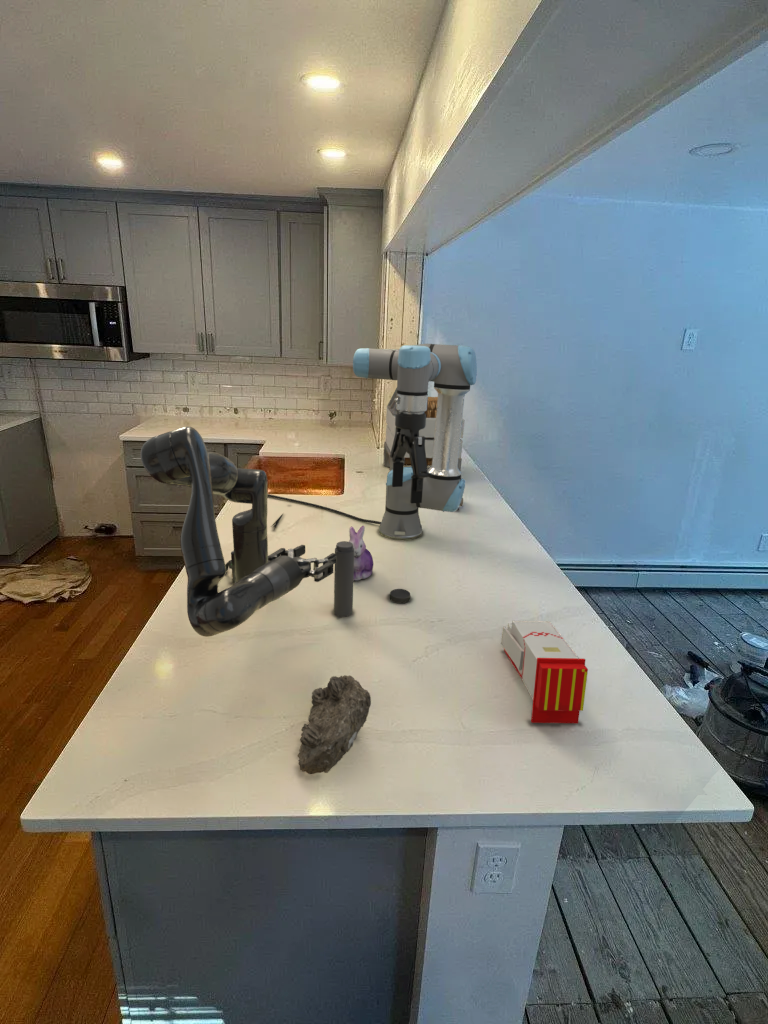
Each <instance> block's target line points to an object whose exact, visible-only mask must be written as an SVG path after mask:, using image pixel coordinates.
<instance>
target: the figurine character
mask: <svg viewBox="0 0 768 1024" xmlns="http://www.w3.org/2000/svg"><path fill="white" fill-rule="evenodd" d="M463 496H464V495H463ZM463 496H462V500H461V503H460V505H459V507H458V509H457V510H456V511H459V510H460V507H463V505H464V498H463Z"/></svg>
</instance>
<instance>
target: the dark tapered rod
mask: <svg viewBox="0 0 768 1024" xmlns="http://www.w3.org/2000/svg"><path fill="white" fill-rule="evenodd" d="M283 515H284V513H282V514H281V515H280V516H279V517H278V518H277V520H275V522H273V523H272V525H271V526H270V527H273V530H275V529H276V528H277V526H278V525H279V522H280V520H281V519H282V517H283Z"/></svg>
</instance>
